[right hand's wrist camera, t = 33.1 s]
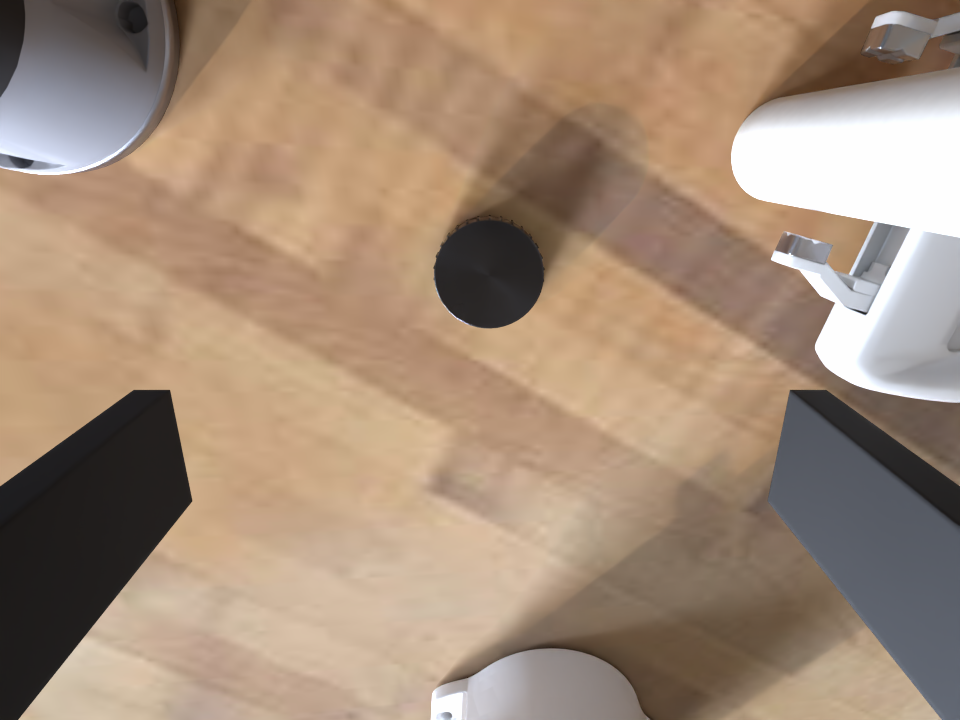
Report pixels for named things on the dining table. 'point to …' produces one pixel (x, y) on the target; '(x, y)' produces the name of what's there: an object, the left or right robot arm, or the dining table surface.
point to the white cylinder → (861, 151)
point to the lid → (488, 272)
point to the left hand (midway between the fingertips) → (826, 146)
